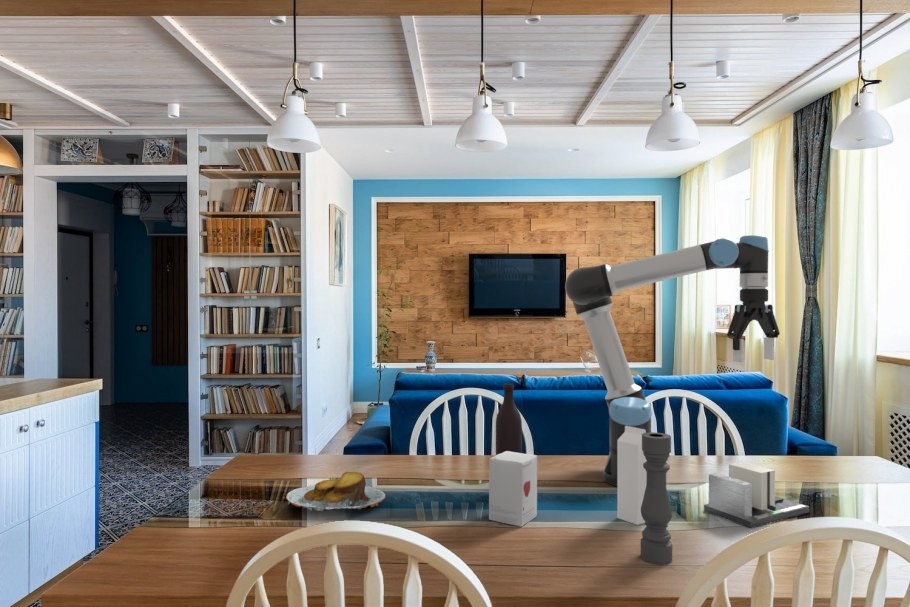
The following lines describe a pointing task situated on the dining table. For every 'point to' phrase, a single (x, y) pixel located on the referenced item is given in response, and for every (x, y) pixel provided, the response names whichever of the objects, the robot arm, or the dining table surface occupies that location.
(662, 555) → the candle holder
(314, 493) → the food on plate
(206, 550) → the dining table surface
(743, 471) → the block
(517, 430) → the wine bottle
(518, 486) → the supplement box
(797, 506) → the frame
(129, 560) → the dining table surface
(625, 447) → the milk
